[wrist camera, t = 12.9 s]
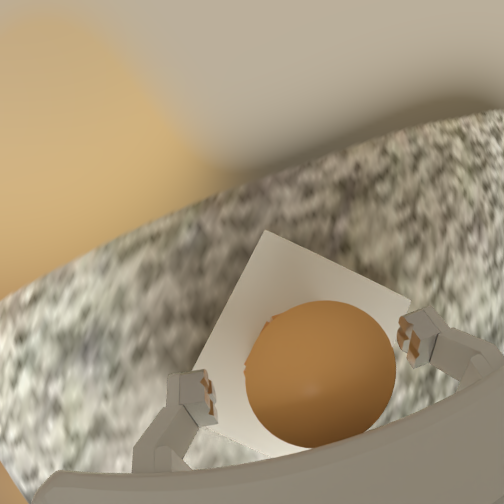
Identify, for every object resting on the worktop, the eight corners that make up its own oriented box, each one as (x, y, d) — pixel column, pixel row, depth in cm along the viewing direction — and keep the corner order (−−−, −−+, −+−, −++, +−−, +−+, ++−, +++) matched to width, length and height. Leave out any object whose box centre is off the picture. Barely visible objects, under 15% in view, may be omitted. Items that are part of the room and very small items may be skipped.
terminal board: (264, 236, 21) (265, 197, 15) (402, 302, 19) (449, 288, 13) (178, 403, 18) (144, 428, 12) (320, 467, 17) (339, 512, 11)
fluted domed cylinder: (278, 300, 18) (288, 274, 10) (355, 337, 17) (417, 336, 10) (237, 378, 17) (218, 410, 9) (316, 414, 16) (352, 466, 9)
